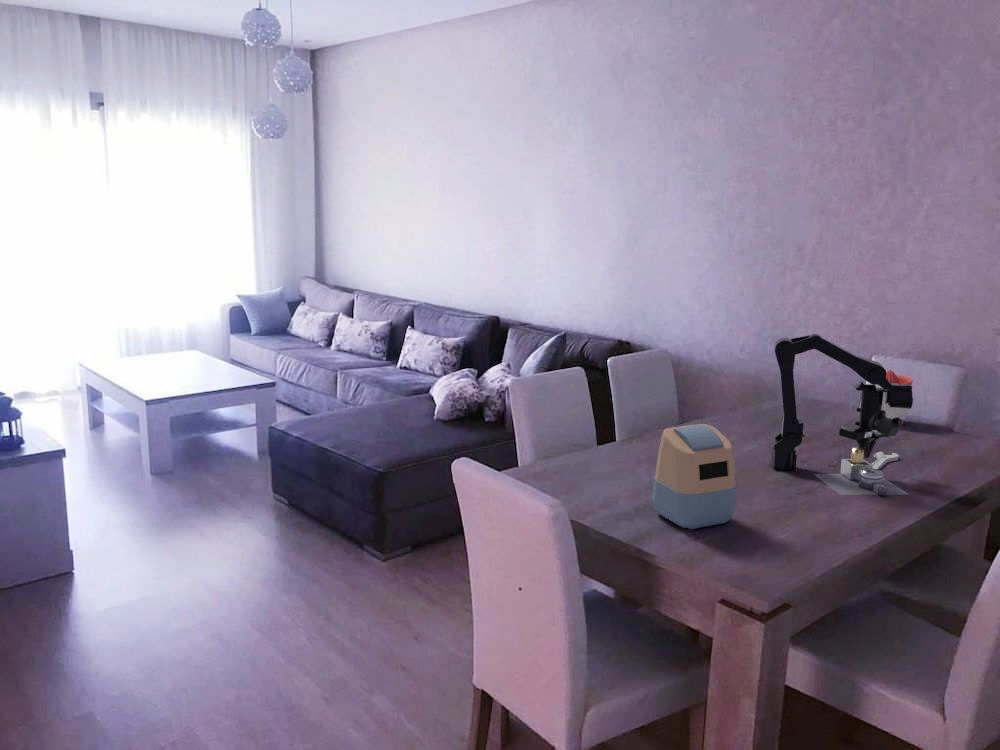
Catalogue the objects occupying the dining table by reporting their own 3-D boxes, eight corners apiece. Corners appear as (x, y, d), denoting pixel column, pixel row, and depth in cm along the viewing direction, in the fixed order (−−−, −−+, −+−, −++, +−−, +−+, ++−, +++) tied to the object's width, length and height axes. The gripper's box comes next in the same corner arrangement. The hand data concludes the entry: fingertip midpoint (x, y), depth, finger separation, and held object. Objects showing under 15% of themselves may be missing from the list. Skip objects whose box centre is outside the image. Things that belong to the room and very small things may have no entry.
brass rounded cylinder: (853, 475, 232) (855, 450, 231) (847, 471, 235) (850, 447, 234) (864, 475, 232) (866, 450, 231) (858, 471, 236) (860, 446, 234)
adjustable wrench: (872, 478, 236) (872, 472, 236) (849, 473, 241) (850, 467, 240) (900, 459, 254) (900, 453, 254) (879, 455, 258) (879, 449, 258)
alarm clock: (685, 535, 193) (690, 441, 188) (645, 511, 208) (649, 425, 203) (740, 524, 199) (746, 434, 194) (698, 503, 214) (703, 418, 210)
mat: (840, 495, 220) (840, 494, 220) (813, 474, 237) (813, 474, 237) (909, 495, 220) (909, 494, 220) (876, 474, 238) (876, 473, 238)
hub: (864, 492, 223) (865, 474, 222) (853, 484, 229) (855, 467, 228) (885, 491, 223) (887, 474, 222) (875, 484, 229) (876, 467, 228)
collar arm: (895, 495, 218) (896, 480, 217) (872, 495, 218) (874, 480, 217) (861, 472, 237) (862, 458, 236) (840, 472, 237) (841, 458, 236)
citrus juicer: (889, 431, 285) (895, 376, 281) (852, 419, 301) (857, 367, 297) (922, 427, 291) (928, 373, 287) (884, 416, 307) (889, 364, 303)
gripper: (873, 415, 220) (867, 470, 224) (917, 408, 229) (912, 461, 232) (839, 406, 230) (834, 459, 233) (883, 400, 239) (878, 451, 242)
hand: (866, 457), depth 235 cm, fingers closed
